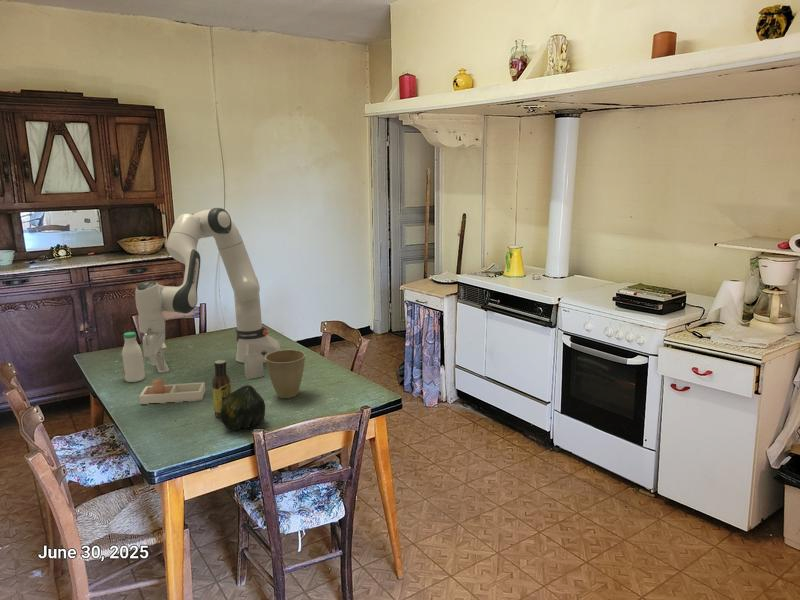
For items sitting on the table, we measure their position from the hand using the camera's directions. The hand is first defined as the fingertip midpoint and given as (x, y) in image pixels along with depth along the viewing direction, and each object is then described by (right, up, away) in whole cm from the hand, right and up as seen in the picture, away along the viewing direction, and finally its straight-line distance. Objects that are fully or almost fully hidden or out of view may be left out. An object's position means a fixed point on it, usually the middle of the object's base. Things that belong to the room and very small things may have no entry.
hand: (156, 360), depth 228 cm
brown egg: (-1, -14, +4) cm, 14 cm away
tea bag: (+31, -9, +25) cm, 41 cm away
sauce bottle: (+29, -18, -12) cm, 36 cm away
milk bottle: (-19, -10, +25) cm, 33 cm away
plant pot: (+48, -14, +5) cm, 50 cm away
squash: (+38, -20, -20) cm, 48 cm away
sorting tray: (+5, -15, +4) cm, 16 cm away
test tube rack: (-16, -6, +43) cm, 46 cm away
